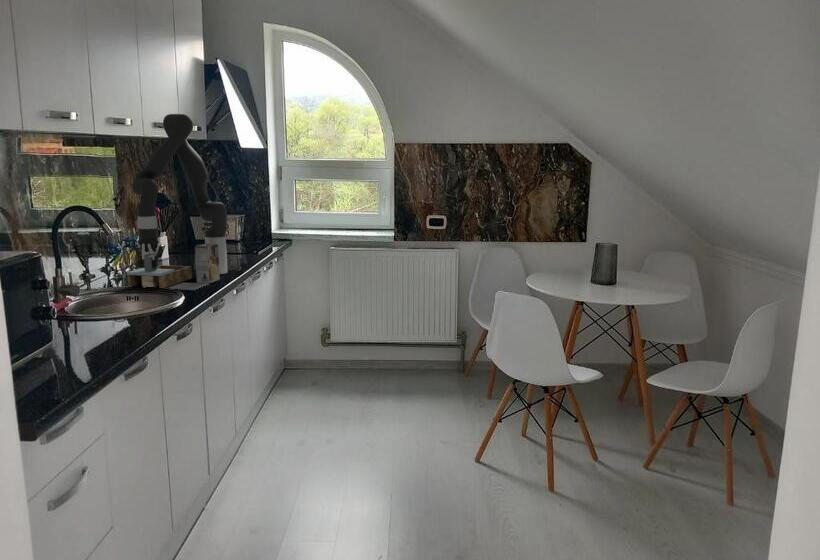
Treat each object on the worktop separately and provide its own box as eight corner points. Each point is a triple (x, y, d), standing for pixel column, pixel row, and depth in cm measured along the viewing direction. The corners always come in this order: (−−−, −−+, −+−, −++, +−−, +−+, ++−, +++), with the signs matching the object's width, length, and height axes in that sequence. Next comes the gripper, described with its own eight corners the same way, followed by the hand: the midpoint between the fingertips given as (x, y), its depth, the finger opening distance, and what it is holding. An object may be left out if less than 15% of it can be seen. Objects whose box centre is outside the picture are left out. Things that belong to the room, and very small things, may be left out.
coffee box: (207, 279, 281) (205, 243, 278) (220, 279, 280) (218, 243, 277) (196, 283, 273) (194, 246, 270) (209, 283, 271) (207, 246, 268)
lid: (142, 270, 271) (141, 254, 270) (174, 271, 268) (173, 255, 267) (126, 274, 260) (125, 257, 259) (160, 276, 258) (158, 259, 257)
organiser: (161, 277, 286) (160, 265, 285) (192, 278, 283) (191, 266, 282) (128, 287, 262) (127, 274, 261) (161, 289, 259) (160, 275, 258)
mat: (183, 283, 271) (183, 282, 271) (209, 284, 269) (209, 283, 269) (167, 289, 259) (167, 287, 259) (194, 290, 257) (194, 289, 257)
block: (149, 285, 268) (148, 273, 267) (160, 285, 267) (159, 274, 266) (142, 287, 263) (141, 275, 262) (153, 288, 262) (152, 276, 261)
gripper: (168, 226, 263) (170, 267, 267) (137, 225, 266) (140, 266, 269) (158, 228, 256) (161, 270, 259) (126, 227, 258) (129, 269, 262)
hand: (150, 268), depth 264 cm, fingers closed on lid, 3 cm apart
